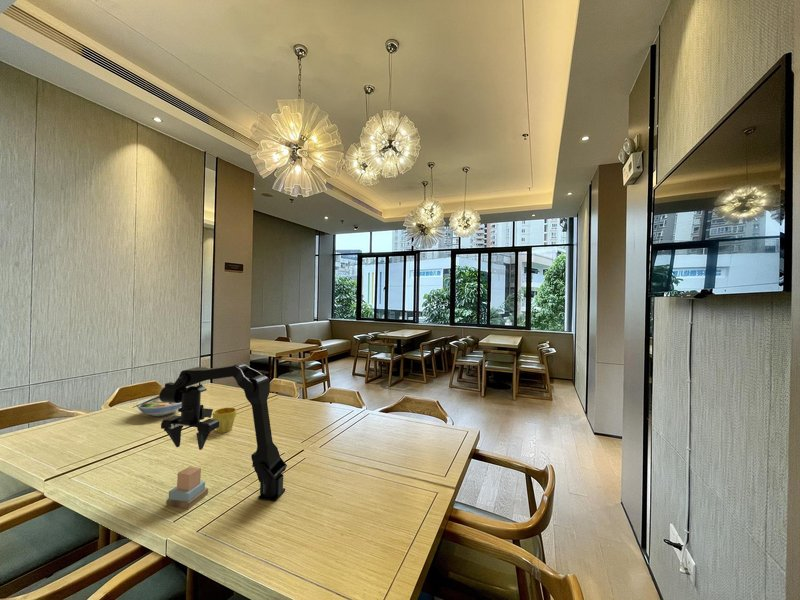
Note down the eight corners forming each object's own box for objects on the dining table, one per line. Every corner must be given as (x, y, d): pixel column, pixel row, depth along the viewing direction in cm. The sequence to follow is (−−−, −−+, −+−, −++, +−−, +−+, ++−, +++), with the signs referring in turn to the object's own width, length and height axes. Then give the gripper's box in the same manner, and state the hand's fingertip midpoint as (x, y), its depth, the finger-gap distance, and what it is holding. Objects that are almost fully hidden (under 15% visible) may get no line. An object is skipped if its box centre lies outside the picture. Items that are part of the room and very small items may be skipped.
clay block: (200, 483, 106) (201, 468, 106) (188, 490, 101) (189, 474, 102) (188, 481, 107) (189, 466, 107) (176, 488, 102) (177, 472, 103)
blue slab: (204, 489, 107) (205, 481, 107) (188, 501, 100) (188, 493, 100) (185, 487, 108) (186, 479, 108) (168, 499, 101) (168, 491, 101)
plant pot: (223, 435, 153) (224, 415, 153) (207, 432, 156) (208, 412, 156) (240, 428, 163) (241, 408, 163) (225, 425, 166) (225, 406, 166)
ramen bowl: (165, 423, 166) (166, 407, 166) (122, 421, 167) (122, 406, 167) (196, 407, 191) (197, 393, 191) (159, 406, 192) (159, 392, 192)
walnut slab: (207, 495, 107) (208, 488, 107) (188, 511, 99) (189, 503, 99) (186, 493, 109) (186, 485, 109) (166, 508, 101) (166, 500, 101)
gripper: (230, 399, 120) (228, 441, 120) (186, 395, 123) (184, 436, 123) (207, 408, 109) (206, 454, 109) (160, 404, 112) (158, 449, 112)
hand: (189, 448), depth 113 cm, fingers open, 9 cm apart
